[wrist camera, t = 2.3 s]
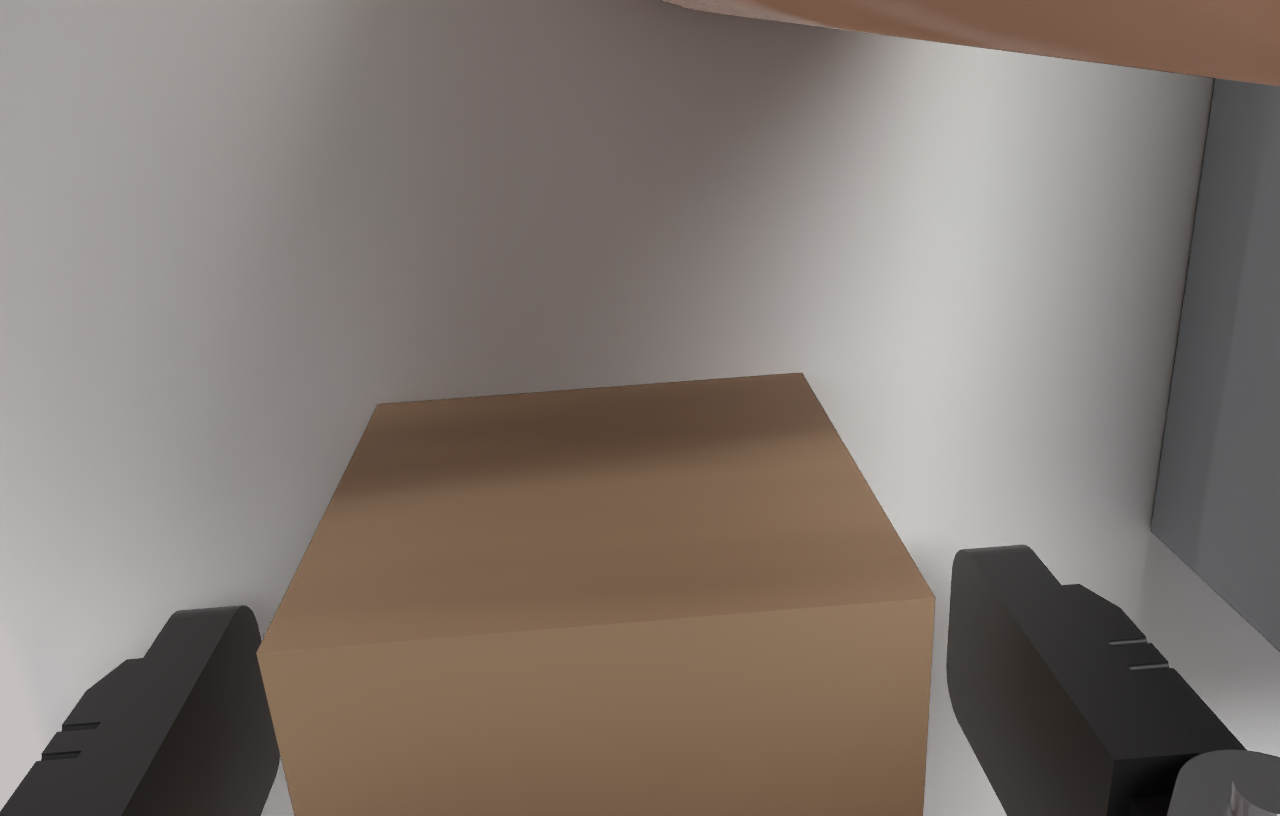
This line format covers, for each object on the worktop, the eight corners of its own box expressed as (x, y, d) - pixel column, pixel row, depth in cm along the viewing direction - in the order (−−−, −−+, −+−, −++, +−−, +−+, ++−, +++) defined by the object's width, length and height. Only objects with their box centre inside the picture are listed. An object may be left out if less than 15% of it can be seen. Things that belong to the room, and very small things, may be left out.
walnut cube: (379, 402, 12) (255, 652, 8) (800, 370, 12) (935, 598, 8) (435, 743, 14) (364, 1113, 9) (801, 712, 14) (908, 1061, 10)
